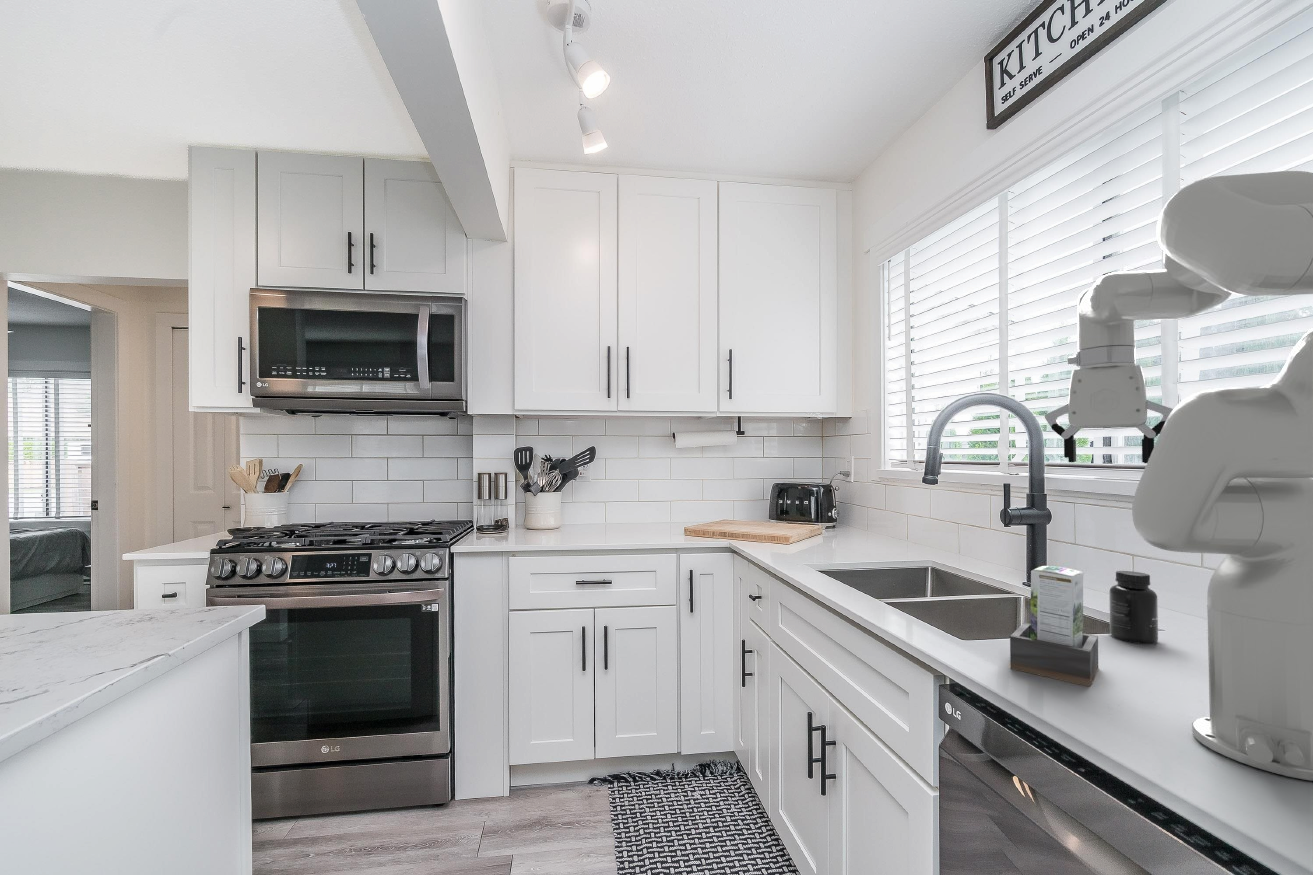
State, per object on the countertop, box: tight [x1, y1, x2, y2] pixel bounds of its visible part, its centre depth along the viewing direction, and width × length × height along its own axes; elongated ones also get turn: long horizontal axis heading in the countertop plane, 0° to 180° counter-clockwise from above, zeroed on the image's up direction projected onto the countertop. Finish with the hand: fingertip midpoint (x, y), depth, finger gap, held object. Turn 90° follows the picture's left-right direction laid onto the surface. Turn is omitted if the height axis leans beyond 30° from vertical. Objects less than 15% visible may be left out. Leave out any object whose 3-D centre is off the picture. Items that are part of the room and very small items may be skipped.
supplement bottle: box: [1108, 570, 1159, 645], centre depth 104 cm, size 7×7×12 cm
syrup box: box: [1029, 565, 1084, 648], centre depth 89 cm, size 6×6×14 cm
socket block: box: [1009, 622, 1099, 687], centre depth 89 cm, size 10×10×5 cm
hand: (1107, 462), depth 95 cm, fingers open, 9 cm apart
